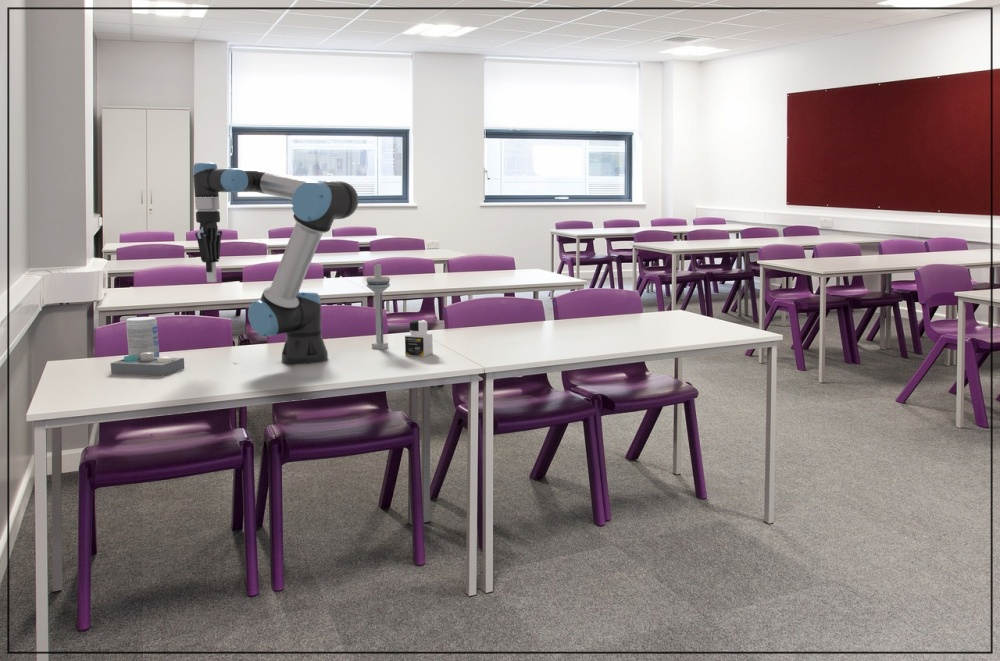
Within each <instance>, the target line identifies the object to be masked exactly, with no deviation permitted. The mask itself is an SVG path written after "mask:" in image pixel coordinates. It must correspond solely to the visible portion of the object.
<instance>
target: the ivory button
mask: <svg viewBox="0 0 1000 661" xmlns="http://www.w3.org/2000/svg"><path fill="white" fill-rule="evenodd" d="M168 362H171V356H159V358H158V363H168Z"/></svg>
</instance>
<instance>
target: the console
mask: <svg viewBox="0 0 1000 661" xmlns="http://www.w3.org/2000/svg"><path fill="white" fill-rule="evenodd" d="M159 357H160V356H159ZM159 357H154V361H152V362H141V356H138V360H136V361H133V362H132V361H124V358H123V359H120V360H117V361H116V360H115V361H113V362H110V371H111V372H110V373H111V375H122V376H123V375H126V376H127V375H128V376H129V375H130V376H147V377H148V376H149V377H150V376H152V377H165V376H168V375H170V374H173V373H176V372H179V371H181V370H182V371H183V370H185V369H184V368H185V358H184V357H174V356H173V357H171V356H170V357H171V362H168V363H158V358H159Z"/></svg>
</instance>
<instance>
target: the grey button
mask: <svg viewBox="0 0 1000 661" xmlns="http://www.w3.org/2000/svg"><path fill="white" fill-rule="evenodd" d="M140 356H141V362H152V361H154V353H153V352H145V353H141V354H140Z"/></svg>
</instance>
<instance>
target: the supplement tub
mask: <svg viewBox="0 0 1000 661" xmlns="http://www.w3.org/2000/svg"><path fill="white" fill-rule="evenodd" d="M157 323H158V322H157V317H156V316H155V317H154V316H138V317H137V316H136V317H128V318H126V327H125V328H126V337H127V338H126V339H127V349H128V350H127V352H128V356H130V355H136V356H140V354H141V353H145V352H153V353H154V357H160V347H159V346H160V345H159V333H158V324H157Z"/></svg>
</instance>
